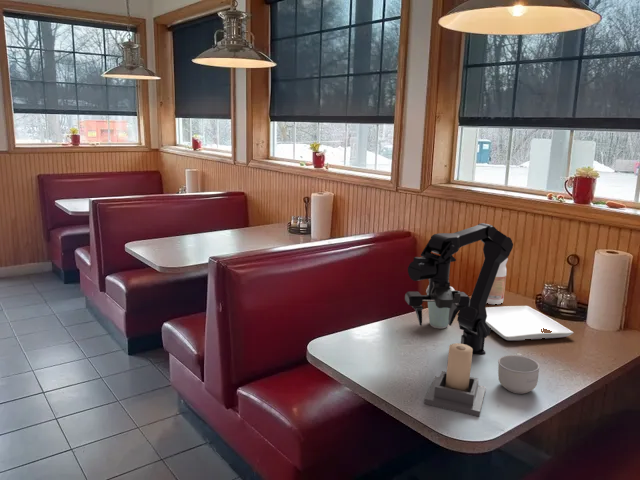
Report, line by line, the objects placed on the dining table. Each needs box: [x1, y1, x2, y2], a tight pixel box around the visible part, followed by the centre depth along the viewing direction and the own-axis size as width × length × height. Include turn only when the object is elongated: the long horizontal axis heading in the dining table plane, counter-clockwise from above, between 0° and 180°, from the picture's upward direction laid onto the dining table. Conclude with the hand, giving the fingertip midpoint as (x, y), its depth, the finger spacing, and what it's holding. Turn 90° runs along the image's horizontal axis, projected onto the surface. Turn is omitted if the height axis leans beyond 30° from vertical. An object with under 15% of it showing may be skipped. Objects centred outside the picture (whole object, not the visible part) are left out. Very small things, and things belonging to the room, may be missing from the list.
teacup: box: [497, 353, 541, 395], centre depth 148 cm, size 14×11×8 cm
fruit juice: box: [486, 257, 509, 305], centre depth 218 cm, size 9×9×28 cm
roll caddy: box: [424, 370, 487, 418], centre depth 141 cm, size 14×14×4 cm
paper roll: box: [445, 342, 473, 392], centre depth 140 cm, size 6×6×13 cm
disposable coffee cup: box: [425, 285, 456, 329], centre depth 191 cm, size 11×11×15 cm
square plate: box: [485, 305, 574, 341], centre depth 192 cm, size 27×27×4 cm
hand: (435, 325), depth 160 cm, fingers open, 9 cm apart
